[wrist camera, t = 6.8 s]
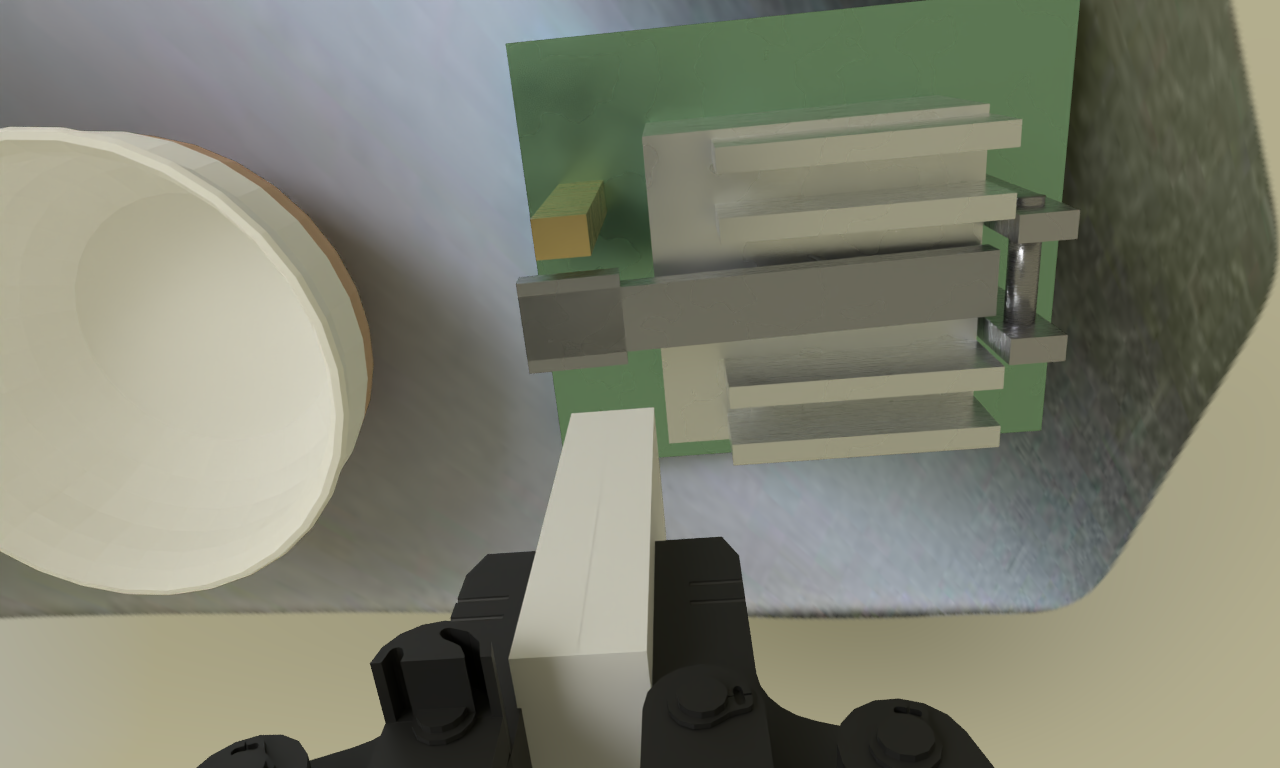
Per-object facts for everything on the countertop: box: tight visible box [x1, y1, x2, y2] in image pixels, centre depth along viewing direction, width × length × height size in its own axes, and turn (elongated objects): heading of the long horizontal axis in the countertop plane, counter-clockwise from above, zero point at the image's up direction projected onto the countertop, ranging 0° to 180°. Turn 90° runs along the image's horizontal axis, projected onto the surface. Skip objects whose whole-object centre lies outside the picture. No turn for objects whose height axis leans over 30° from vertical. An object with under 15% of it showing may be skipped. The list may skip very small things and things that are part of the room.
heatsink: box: [506, 0, 1080, 465], centre depth 28 cm, size 19×16×9 cm
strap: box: [516, 244, 1000, 374], centre depth 25 cm, size 14×3×1 cm, turn 95°
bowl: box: [0, 127, 374, 595], centre depth 30 cm, size 16×16×8 cm
